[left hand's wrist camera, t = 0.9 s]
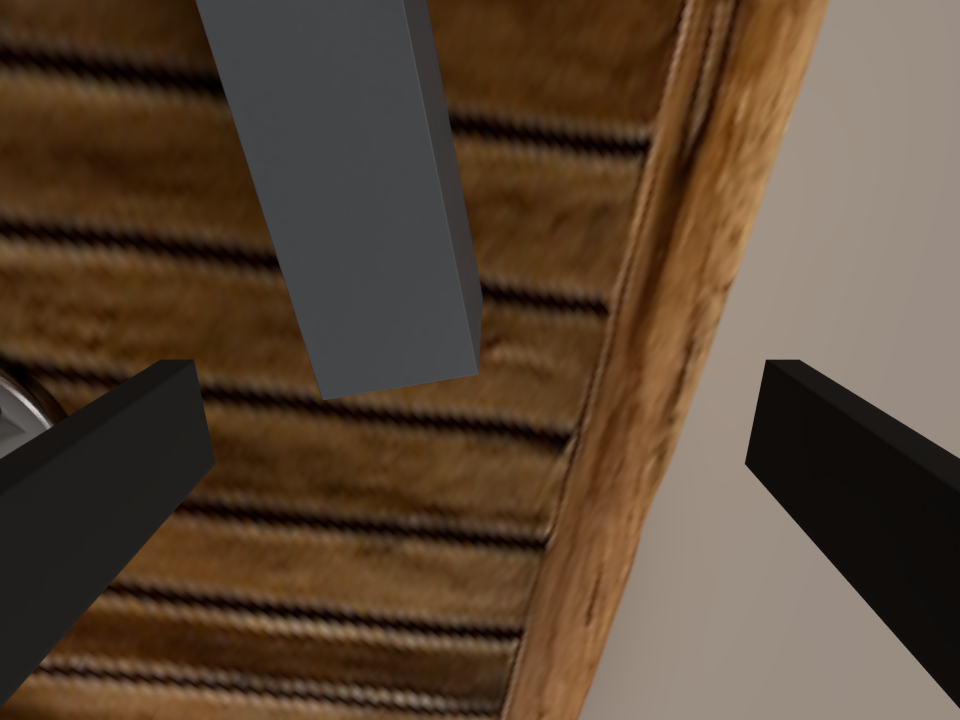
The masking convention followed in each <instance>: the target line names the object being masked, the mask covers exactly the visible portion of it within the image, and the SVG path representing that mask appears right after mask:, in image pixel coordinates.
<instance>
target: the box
mask: <svg viewBox="0 0 960 720" xmlns="http://www.w3.org/2000/svg"><path fill="white" fill-rule="evenodd" d="M195 1H196V4H197V7H198V10H199V13H200V16H201V20H202V23H203V26H204V29H205V32H206V35H207V38H208V42H209V45H210V48H211V51H212V54H213V57H214V61H215V64H216V67H217V70H218V73H219V76H220V79H221V83H222V86H223V89H224V92H225V95H226V98H227V101H228V105H229V108H230V111H231V114H232V117H233V120H234V123H235V127H236V130H237V133H238V136H239V139H240V142H241V145H242V149H243V152H244V155H245V158H246V161H247V164H248V167H249V171H250V174H251V177H252V180H253V183H254V186H255V189H256V193H257V196H258V199H259V202H260V205H261V208H262V211H263V215H264V218H265V221H266V224H267V227H268V230H269V233H270V237H271V240H272V243H273V246H274V249H275V252H276V255H277V259H278V262H279V265H280V268H281V271H282V274H283V277H284V281H285V284H286V287H287V290H288V293H289V296H290V299H291V303H292V306H293V309H294V312H295V315H296V318H297V321H298V325H299V328H300V331H301V334H302V337H303V340H304V344H305V347H306V350H307V353H308V356H309V359H310V362H311V366H312V369H313V372H314V375H315V378H316V381H317V384H318V388H319V391H320V394H321V397H322V400H326V399H332V398H339V397H345V396H351V395H357V394H363V393H369V392H375V391H381V390H387V389H393V388H399V387H405V386H411V385H417V384H423V383H429V382H435V381H441V380H447V379H453V378H459V377H465V376H471V375H477V374H478V372H479V354H480V337H481V319H482V302H483V297H482V292H481V286H480V281H479V276H478V270H477V265H476V260H475V254H474V249H473V244H472V239H471V233H470V228H469V223H468V217H467V212H466V207H465V201H464V196H463V191H462V186H461V180H460V175H459V170H458V164H457V159H456V154H455V148H454V143H453V138H452V132H451V127H450V122H449V117H448V111H447V106H446V101H445V95H444V90H443V85H442V79H441V74H440V69H439V63H438V58H437V53H436V48H435V42H434V37H433V32H432V26H431V21H430V16H429V10H428V5H427V0H195Z"/></svg>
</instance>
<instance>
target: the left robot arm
mask: <svg viewBox="0 0 960 720" xmlns="http://www.w3.org/2000/svg"><path fill="white" fill-rule="evenodd" d="M214 465H215V461H214V456H213V451H212V446H211V441H210V436H209V431H208V426H207V421H206V416H205V411H204V407H203V402H202V397H201V392H200V387H199V382H198V377H197V372H196V367H195V362H194V360H159V361H158V362H156V363H154V364H153V365H151V366H150V367H148V368H146V369H145V370H143V371H141V372H140V373H138V374H137V375H135V376H133V377H132V378H130V379H129V380H127V381H125V382H124V383H122V384H120V385H119V386H117V387H116V388H114V389H112V390H111V391H109V392H107V393H106V394H104V395H103V396H101V397H99V398H98V399H96V400H95V401H93V402H91V403H90V404H88V405H86V406H85V407H83V408H82V409H80V410H78V411H77V412H75V413H73V414H72V415H70V416H69V417H67V418H66V416H65V415H64V414H63V412H62V411H61V410H60V408H59V407H58V406H57V405H56V404H55V402H54V401H53V400H52V399H51V398H50V397H49V396H48V395H47V394H46V393H45V392H44V391H43V390H42V389H41V388H39V387H38V386H37V385H36V384H35V383H34V382H32V381H31V380H30V379H28V378H27V377H26V376H25V375H23V374H22V373H20V372H19V371H17V370H16V369H14V368H13V367H11V366H9V365H7V364H6V363H4V362H2V361H0V708H1V707H2V706H3V705H4V704H5V703H6V701H7V700H8V699H9V698H10V697H11V696H12V695H13V693H14V692H15V691H16V690H17V689H18V688H19V687H20V685H21V684H22V683H23V682H24V681H25V680H26V679H27V678H28V676H29V675H30V674H31V673H32V672H33V671H34V670H35V668H36V667H37V666H38V665H39V664H40V663H41V662H42V660H43V659H44V658H45V657H46V656H47V655H48V654H49V652H50V651H51V650H52V649H53V648H54V647H55V646H56V645H57V643H58V642H59V641H60V640H61V639H62V638H63V637H64V635H65V634H66V633H67V632H68V631H69V630H70V629H71V627H72V626H73V625H74V624H75V623H76V622H77V621H78V619H79V618H80V617H81V616H82V615H83V614H84V613H85V611H86V610H87V609H88V608H89V607H90V606H91V605H92V604H93V602H94V601H95V600H96V599H97V598H98V597H99V596H100V594H101V593H102V592H103V591H104V590H105V589H106V588H107V586H108V585H109V584H110V583H111V582H112V581H113V580H114V578H115V577H116V576H117V575H118V574H119V573H120V572H121V571H122V569H123V568H124V567H125V566H126V565H127V564H128V563H129V561H130V560H131V559H132V558H133V557H134V556H135V555H136V553H137V552H138V551H139V550H140V549H141V548H142V547H143V545H144V544H145V543H146V542H147V541H148V540H149V539H150V538H151V536H152V535H153V534H154V533H155V532H156V531H157V530H158V528H159V527H160V526H161V525H162V524H163V523H164V522H165V520H166V519H167V518H168V517H169V516H170V515H171V514H172V512H173V511H174V510H175V509H176V508H177V507H178V506H179V505H180V503H181V502H182V501H183V500H184V499H185V498H186V497H187V495H188V494H189V493H190V492H191V491H192V490H193V489H194V487H195V486H196V485H197V484H198V483H199V482H200V481H201V479H202V478H203V477H204V476H205V475H206V474H207V473H208V471H209V470H210V469H211V468H212V467H213V466H214ZM745 465H746V466H747V467H748V468H749V469H750V470H751V471H752V473H753V474H754V475H755V476H756V477H757V478H758V479H759V481H760V482H761V483H762V484H763V485H764V486H765V487H766V488H767V490H768V491H769V492H770V493H771V494H772V495H773V497H774V498H775V499H776V500H777V501H778V502H779V503H780V505H781V506H782V507H783V508H784V509H785V510H786V511H787V512H788V514H789V515H790V516H791V517H792V518H793V519H794V520H795V522H796V523H797V524H798V525H799V526H800V527H801V528H802V530H803V531H804V532H805V533H806V534H807V535H808V536H809V537H810V539H811V540H812V541H813V542H814V543H815V544H816V545H817V547H818V548H819V549H820V550H821V551H822V552H823V553H824V555H825V556H826V557H827V558H828V559H829V560H830V561H831V562H832V564H833V565H834V566H835V567H836V568H837V569H838V571H839V572H840V573H841V574H842V575H843V576H844V577H845V578H846V580H847V581H848V582H849V583H850V584H851V585H852V586H853V588H854V589H855V590H856V591H857V592H858V593H859V594H860V596H861V597H862V598H863V599H864V600H865V601H866V602H867V603H868V605H869V606H870V607H871V608H872V609H873V610H874V611H875V613H876V614H877V615H878V616H879V617H880V618H881V619H882V621H883V622H884V623H885V624H886V625H887V626H888V627H889V629H890V630H891V631H892V632H893V633H894V634H895V635H896V637H897V638H898V639H899V640H900V641H901V642H902V643H903V645H904V646H905V647H906V648H907V649H908V650H909V651H910V652H911V654H912V655H913V656H914V657H915V658H916V659H917V660H918V662H919V663H920V664H921V665H922V666H923V667H924V668H925V670H926V671H927V672H928V673H929V674H930V675H931V676H932V677H933V679H934V680H935V681H936V682H937V683H938V684H939V685H940V687H941V688H942V689H943V690H944V691H945V692H946V693H947V695H948V696H949V697H950V698H951V699H952V700H953V701H954V703H955V704H956V705H957V706H958V707H959V708H960V459H959V458H958V457H956V456H955V455H953V454H951V453H950V452H948V451H946V450H945V449H943V448H942V447H940V446H938V445H937V444H935V443H933V442H932V441H930V440H929V439H927V438H925V437H924V436H922V435H921V434H919V433H917V432H916V431H914V430H912V429H911V428H909V427H908V426H906V425H904V424H903V423H901V422H899V421H898V420H896V419H895V418H893V417H891V416H890V415H888V414H886V413H885V412H883V411H882V410H880V409H878V408H877V407H875V406H874V405H872V404H870V403H869V402H867V401H865V400H864V399H862V398H861V397H859V396H857V395H856V394H854V393H852V392H851V391H849V390H848V389H846V388H844V387H843V386H841V385H840V384H838V383H836V382H835V381H833V380H831V379H830V378H828V377H827V376H825V375H823V374H822V373H820V372H818V371H817V370H815V369H814V368H812V367H810V366H809V365H807V364H806V363H804V362H802V361H801V360H766V362H765V367H764V372H763V377H762V382H761V387H760V392H759V397H758V402H757V407H756V412H755V416H754V421H753V427H752V431H751V436H750V441H749V446H748V451H747V456H746V461H745Z"/></svg>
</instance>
